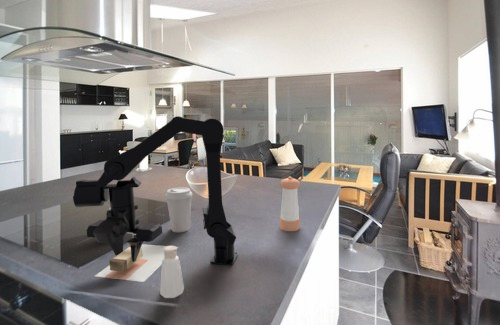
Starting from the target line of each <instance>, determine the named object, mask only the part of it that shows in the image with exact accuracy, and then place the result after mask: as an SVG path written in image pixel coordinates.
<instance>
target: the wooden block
mask: <svg viewBox="0 0 500 325" xmlns="http://www.w3.org/2000/svg"><path fill="white" fill-rule="evenodd" d="M141 257H143V254H142V248H140V251H139V254H138V256H137V259H136V261H138V260H139V259H140V258H141ZM136 261H135V262H136ZM135 262H133V261H132V257H131V246H128V247H127V248H126V249H123V252H121V253H120V254H119V255H117V256H116V255H115V256H114V257H113V258H111V259H110V260H109V265H110V270H113V271H123V272H125V271H126V270H127V269H128V268H129V267H130V266H132V265H133V264H134V263H135Z"/></svg>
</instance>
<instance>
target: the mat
mask: <svg viewBox="0 0 500 325" xmlns="http://www.w3.org/2000/svg"><path fill="white" fill-rule="evenodd" d="M167 246H168V245H155V244H146V243H143V244H142V246H141V248H142V254H143V257H141V258H140V259H139V260H138V261H136V262H135V263H134V264H133V265H132V266H130V267H129V268H128V269H127V270H126V271H125V272H123V271H113V270H110V264H109V265H107V266H106V267H105V268H104V269H102V270H101V271H100V272H98V273H97V274H95V275H94V277H97V278H105V279H116V280H123V281H133V282H139V283H140V282H141V283H144V282H146V281H147V280H148V279H149V278H150V277H151V275H152V274H154V273H155V272H156V270H157V269H159V268H160V267H162V260H163V258H164V248H165V247H167ZM175 247H176V251H177V249H179V248H180V247H179V246H175Z"/></svg>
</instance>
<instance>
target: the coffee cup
mask: <svg viewBox="0 0 500 325" xmlns="http://www.w3.org/2000/svg"><path fill="white" fill-rule="evenodd" d="M193 195H194V194H193V192H192V191H191V188H190V187H185V186H183V187H182V186H181V187H174V188H173V187H172V188H169V189H167V191H166V193H165V197H164V198H166V204H167V209H168V216H169V221H170V229H171V232H173V233H184V232H188V231H189V230H190V229H191V212H192V210H191V209H192V208H191V207H192V206H191V205H192V196H193Z"/></svg>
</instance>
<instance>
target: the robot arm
mask: <svg viewBox="0 0 500 325" xmlns="http://www.w3.org/2000/svg"><path fill="white" fill-rule="evenodd" d="M224 130H225V129H224V125H223V124H222V122H221V121H220V120H218V119H216V118H208V119H205V120H197V119H193V118H185V117H183V116H178V115H177V116H173V117H172V118H171V120H170V121H168V122H167V123H165V125H163V126H162V127H160V128H159V129H157V130H156V131H155V132H154V133H152V134H150V135H149V136H148V137H146V138H145V139H143V140H142V141H141V142H140V143H138V144H137V145H135V146H134V147H131V148H129V149H128V150H126V151H124V152H121V153H119V154H117V155H115V156H113V157H111V158H109V159H107V160H106V161H105V162H104V166H103V173H102V174H101V175H100V177H99V178H98V179H78V180H76V181H75V187H74V191H73V196H72V199H73V200H72V201H73V203H74V206H75V207H76V208H85V207H86V208H88V207H89V208H90V207H102V206H103V205H105V203H106V202H108V201H109V210H107V211H106V213H105V214H106V217H105V219H99V220H97V221H95V222H93V223H91V224H89V225H88V226H87V228H86V230H85V232H86V238H95V239H96V241H97V242H96V243H99V244H101V243H103V244H108V245H109V246H110V248H111V249H112V251H113V253H114V255H115V257H116V256H117V255H119V254H120V253H121V252H123V251H124V237H125V235H126V234H127V235H131V238H130V239H129V240H127V241H126V243H127V244H129V247H131V257H132V261H133V262H135V261H136V259H137V256H138V254H139V251H140V248H141V246H142V244H144V243H145V242H146V243H150V242H153V241H154V240H155V239H157V238H158V237H159V236H161V235H162V234H163V227H162V225H161V224H160V223H155V222H147V223H145V224H143V225H142V226H137V225H138V224H140V220H139V219H136V217H137V216H136V210H138V209H139V207H138V206H139V205H138V204H135V197H134V196H135V195H134V194H135V193H134V188H139V187H140V186H141V185H142V182H141V181H140V180H138V179H137V177H135V176H133V177H131V178H130V179H125V178H127V177H128V176H129V175H130V174H131V173H132V172H134V170H135V169H136V168H137V167H138V166H139V165H141V163H142V162H143V161H144V160H145V158H147V157H148V156H149V155H150V154H152V153H153V152H155V151H156V150H157V149H159V148H160V147H161V146H163V145H164V144H166V143H167V142H168V141H170V140H172V139H173V138H175V137H176V136H177V135H178V134H180V133H187V134H191V135H196V136H197V135H198V136H201V138H202V143H203V146H204V150H205V157H206V158H205V159H206V160H205V161H206V175H207V176H206V178H207V181H206V182H207V196H208V198H207V199H208V202H207V207H202V216H203V220H202V221H203V222H202V223H203V229H204V230H206V233H207V236H209V237H210V238H212V239H213V256H212V258H211V260H210V261H209V262H210V264H214V265H215V264H216V265H226V266H233V265H234V263H235V261H236V259H237V257H238V256H239V253H238V252H235V241H236V239H237V237H236V234H235V230H234V228H233V225H232V224H231V223H229V222H228V221H227V218H226V214H225V210H224V206H223V192H222V191H223V190H222V171H221V170H222V167H221V166H222V165H221V150H222V144H223V137H224ZM113 181H117V182H116V183H112V184H111V182H113Z"/></svg>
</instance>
